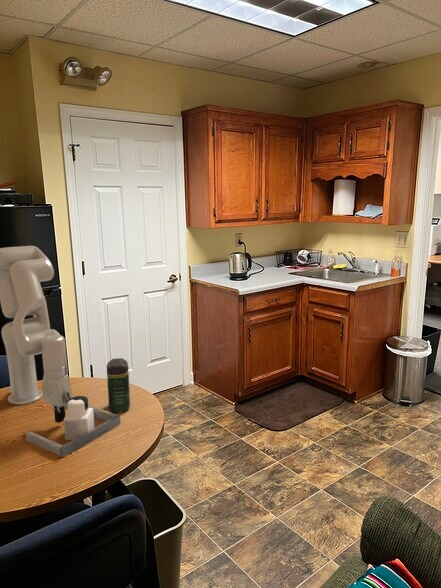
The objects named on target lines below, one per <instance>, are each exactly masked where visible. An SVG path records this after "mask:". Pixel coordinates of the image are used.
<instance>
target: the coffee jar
mask: <svg viewBox="0 0 441 588" xmlns="http://www.w3.org/2000/svg"><path fill="white" fill-rule="evenodd" d="M106 380H107V395H108V396H107V397H108V398H107V399H108V409H109V412H111V413H122V412H126V411H128V410H129V409H130V407H131V396H130V373H129V363H128V361H127V360H125V359H124V358H123V357H121V358H120V357H119V358H112V359H111V360H109V361H108V362H107V363H106Z"/></svg>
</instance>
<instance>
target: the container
mask: <svg viewBox="0 0 441 588" xmlns="http://www.w3.org/2000/svg"><path fill="white" fill-rule="evenodd" d="M88 405H89V400H88V397H87V396H84V395H75V396H72V398H70V399H69V400H68V401H67V406H68V409H67V413H66V414H65V418H64V421H63V426H64V427H63V430H64V438H65V441H72V440H74V439H76V438H77V437H79V436H81V435H83V434H85V433H86V432H88V431H90V430H92V429H93V428H95V427H96V426H95V416H94V414H93V408H88Z"/></svg>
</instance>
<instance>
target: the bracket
mask: <svg viewBox="0 0 441 588" xmlns="http://www.w3.org/2000/svg"><path fill="white" fill-rule="evenodd" d="M88 408H93V414H94V418H97V419H101V420H102V421H103V420H104V422H103V423H101V424H99V425H97V426H94V427H95V428H93V429H92V430H90V431H88V432H86V433H85V434H83V435H81V436H79V437H77V438H76V439H74V440H69V441H68V442H67V443H65V444H63V445H62V444H60V443H57V442H56V441H53V440H51V439H49V438H47V437H46V438H45V437H44V436H42V435H39V434H38V433H36V432H33V431H30V430H28V431H26V432H25V437H26V441H27V442H29V443H31V444H32V445H36V446H37V447H40V448H42V449H44V450H46V451H48V452H50V453H52V454H55V455H57V456H59V457H61V458H65V457H66V456H68V455H69V454H71V453H73V452H75V451H77V450H78V449H80V448H82V447H83V446H85V445H87V444H88V443H90V442H92V441H93V440H95V439H97V438H98V437H100V436H102V435H104V434H106V433H107V432H109V431H110V430H112V429H114V428H116V427H117V426H119V425H120V424H121V421H122V420H121V415H119V414H116V413H115V412H111V411H108V410H106V409H105V410H104V409H102V408H100V407H97V406H94V405H91V404H88Z"/></svg>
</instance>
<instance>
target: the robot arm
mask: <svg viewBox="0 0 441 588" xmlns="http://www.w3.org/2000/svg"><path fill="white" fill-rule="evenodd" d="M54 275H55V269H54V267H53V264H52V262H51V260H50V259H49V258H48V257H47V256H46V254H44V252H43V251H42V250H41V249H39V247H37V246H35V245H22V246H9V247H8V246H7V247H1V248H0V306H1V311H2V314H3V315H4V317H5V318H8V319H13V320H12V321H10V322H7V323H6V324H4V325H3V326H2V329H1V330H0V331H1V337H2V342H3V344H4V347H5V352H6V358H7V365H8V373H9V375H8V376H9V381H10V386H8V388H7V389H8V390H10V393H11V394H10V395H8V397H7V402H8V403H9V404H12V405H19V406H20V405H21V406H22V405H28V404H32V403H34V402H36V401H39V400H40V399H41V398H43V401H44V402H45V403H48V405H51V406H52V411H53V413H54V422H55V423H58V424H60V423H62V422H64V418H65V416H66V410H68V406H67V401H68V400H69V399H70V398H72V397H73V394H72V393H73V392H72V387H71V383H70V382H71V381H70V378H69V375H68V373H69V370H68V361H67V360H68V359H67V350H66V349H67V348H66V339H65V337H64V336H63V335H60V333H59V332H58V331H57V330H56V329H54V328H53V329H52V328H51V324H50V318H49V317H50V316H49V312H48V307H47V306H48V305H47V301H46V298H45V295H44V292H43V289H42V286H41V283H42V282H48V281H51V280H52V279H53V278H54ZM27 316H32V317H31V318H26V317H27ZM25 318H26V319H25ZM40 354H41V355H42V357H41V358H42V366H43V367H42V368H43V376H42V390H41V389H38V381H37V379H38V378H37V371H36V370H37V369H36V360H35V356H37V355H40Z"/></svg>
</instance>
